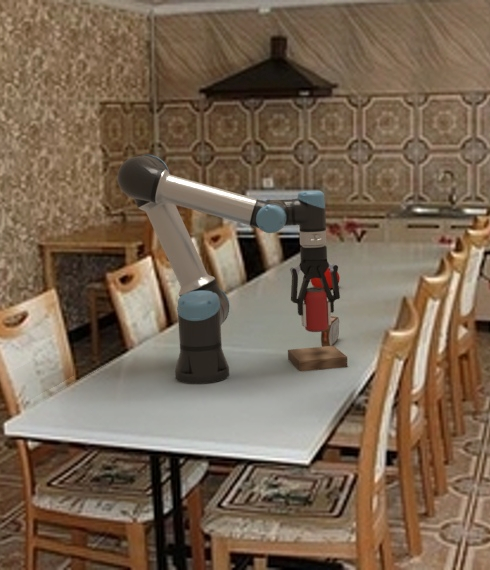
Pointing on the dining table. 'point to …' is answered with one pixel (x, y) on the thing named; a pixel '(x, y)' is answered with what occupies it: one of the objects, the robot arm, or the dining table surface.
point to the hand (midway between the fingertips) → (316, 324)
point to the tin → (330, 333)
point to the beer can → (316, 309)
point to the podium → (317, 358)
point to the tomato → (317, 282)
